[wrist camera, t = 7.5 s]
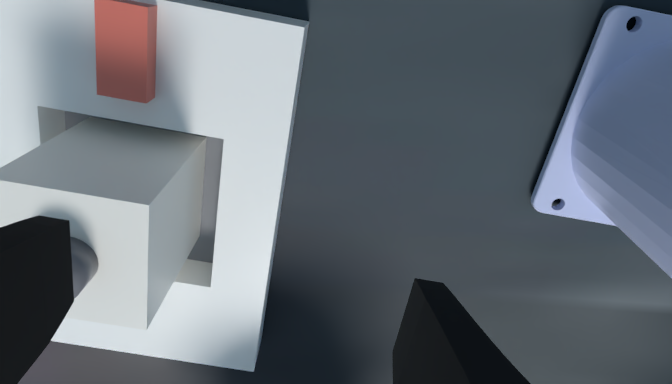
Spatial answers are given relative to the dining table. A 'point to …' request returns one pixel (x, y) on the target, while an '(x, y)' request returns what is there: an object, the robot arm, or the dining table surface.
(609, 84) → the robot arm
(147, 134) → the plug
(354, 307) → the dining table surface
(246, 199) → the socket plate
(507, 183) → the dining table surface
